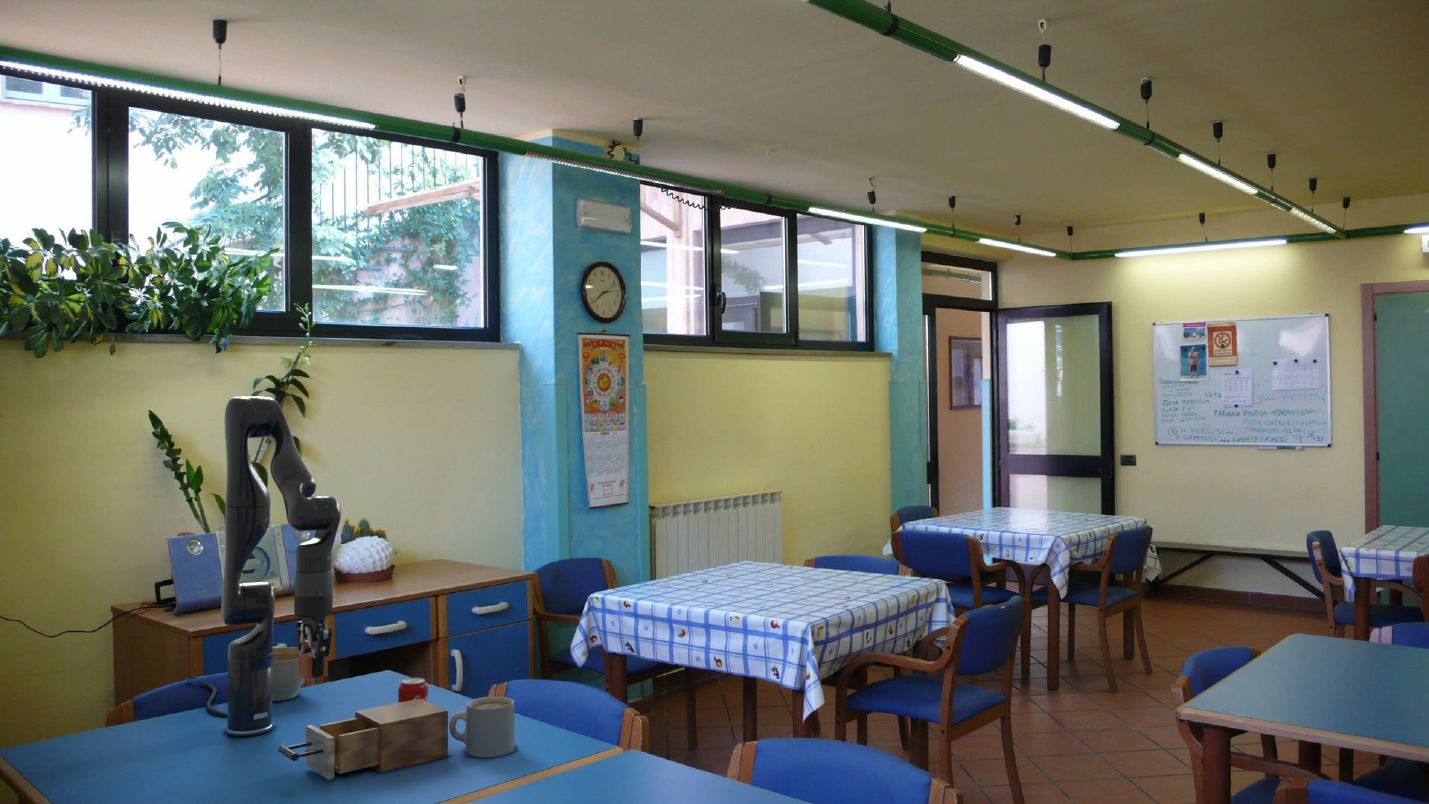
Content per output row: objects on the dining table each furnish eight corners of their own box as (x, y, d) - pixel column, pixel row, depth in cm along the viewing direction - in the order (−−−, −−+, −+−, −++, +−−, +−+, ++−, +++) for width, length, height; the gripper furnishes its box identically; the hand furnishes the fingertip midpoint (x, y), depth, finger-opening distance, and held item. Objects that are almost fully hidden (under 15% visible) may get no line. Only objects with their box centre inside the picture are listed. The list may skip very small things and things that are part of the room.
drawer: (295, 786, 196) (296, 745, 196) (273, 771, 205) (274, 731, 205) (394, 763, 209) (394, 725, 210) (370, 750, 218) (370, 713, 218)
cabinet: (381, 772, 207) (381, 724, 207) (354, 757, 216) (354, 711, 216) (447, 756, 217) (448, 710, 217) (419, 743, 226) (420, 698, 226)
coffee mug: (519, 743, 226) (519, 697, 226) (506, 758, 216) (507, 709, 216) (459, 741, 227) (459, 695, 227) (443, 756, 217) (444, 708, 217)
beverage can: (419, 739, 228) (419, 684, 229) (392, 737, 230) (393, 683, 230) (432, 731, 235) (432, 677, 235) (406, 729, 236) (407, 676, 236)
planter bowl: (228, 704, 256) (228, 660, 257) (266, 687, 272) (267, 646, 273) (288, 707, 254) (288, 662, 254) (323, 690, 270) (324, 648, 270)
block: (297, 675, 217) (298, 653, 217) (319, 672, 220) (319, 650, 220) (306, 679, 214) (306, 657, 214) (327, 675, 217) (328, 654, 217)
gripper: (282, 590, 220) (282, 671, 220) (308, 598, 210) (308, 683, 209) (318, 586, 225) (317, 665, 225) (345, 594, 215) (344, 677, 214)
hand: (313, 674), depth 217 cm, fingers closed on block, 4 cm apart
